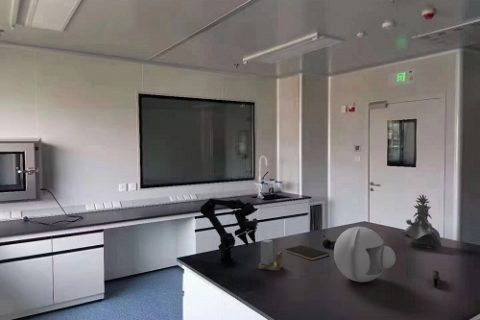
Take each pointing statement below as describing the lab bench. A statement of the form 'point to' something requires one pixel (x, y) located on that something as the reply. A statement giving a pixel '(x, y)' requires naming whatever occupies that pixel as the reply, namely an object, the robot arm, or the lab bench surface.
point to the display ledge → (274, 265)
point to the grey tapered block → (266, 251)
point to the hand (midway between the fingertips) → (251, 244)
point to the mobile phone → (436, 279)
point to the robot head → (362, 254)
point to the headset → (329, 243)
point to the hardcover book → (307, 252)
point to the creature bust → (422, 227)
